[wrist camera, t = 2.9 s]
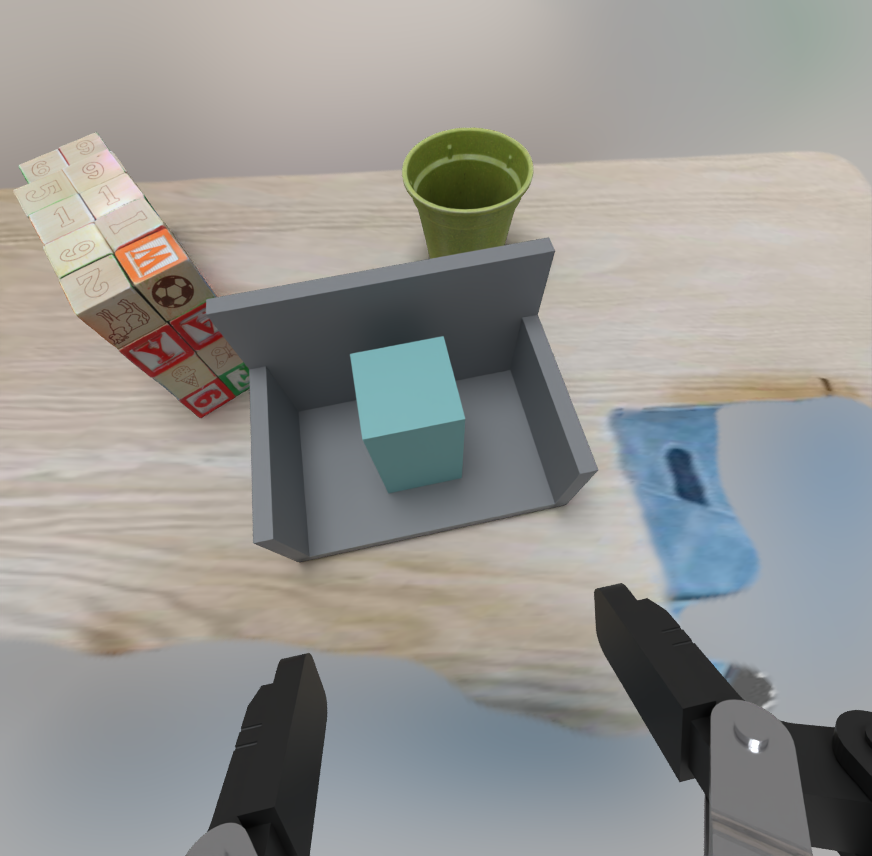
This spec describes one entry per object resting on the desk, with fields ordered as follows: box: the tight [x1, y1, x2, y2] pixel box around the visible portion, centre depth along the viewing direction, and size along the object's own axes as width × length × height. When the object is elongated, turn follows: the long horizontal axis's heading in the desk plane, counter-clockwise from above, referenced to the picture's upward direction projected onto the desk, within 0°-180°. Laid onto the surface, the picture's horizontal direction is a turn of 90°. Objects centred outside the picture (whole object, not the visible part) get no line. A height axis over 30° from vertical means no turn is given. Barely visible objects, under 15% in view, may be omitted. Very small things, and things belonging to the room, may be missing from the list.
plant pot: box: [402, 128, 533, 259], centre depth 34 cm, size 9×9×9 cm
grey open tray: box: [206, 238, 598, 562], centre depth 25 cm, size 12×18×12 cm, turn 102°
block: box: [350, 336, 465, 493], centre depth 25 cm, size 5×5×9 cm
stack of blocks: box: [13, 133, 250, 418], centre depth 31 cm, size 21×6×12 cm, turn 37°
